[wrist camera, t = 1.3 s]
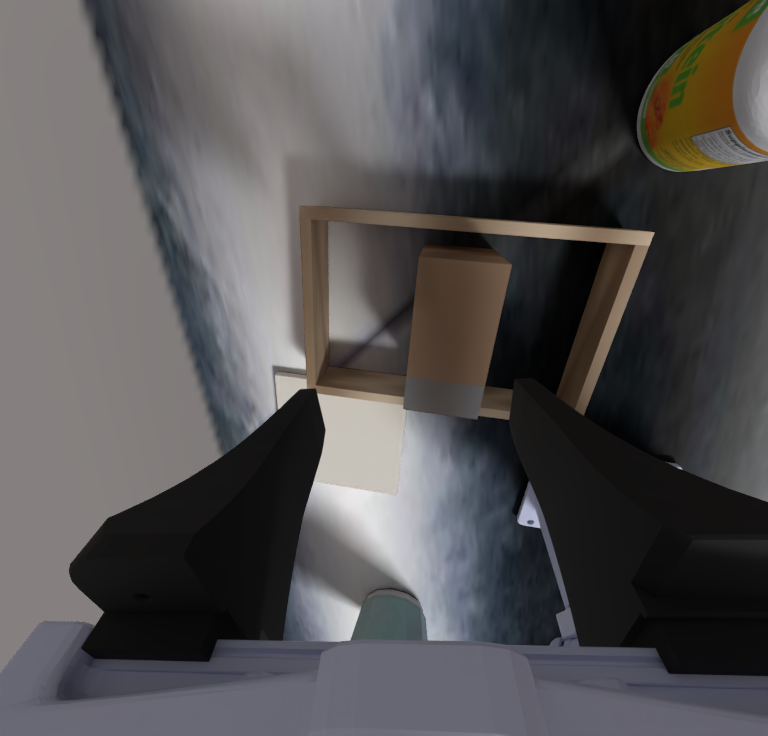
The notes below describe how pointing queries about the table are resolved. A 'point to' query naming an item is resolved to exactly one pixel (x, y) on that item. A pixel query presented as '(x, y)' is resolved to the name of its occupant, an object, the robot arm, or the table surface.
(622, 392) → the table surface
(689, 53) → the supplement bottle
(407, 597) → the disposable coffee cup
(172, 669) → the robot arm
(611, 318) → the frame
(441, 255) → the block
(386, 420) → the pad
